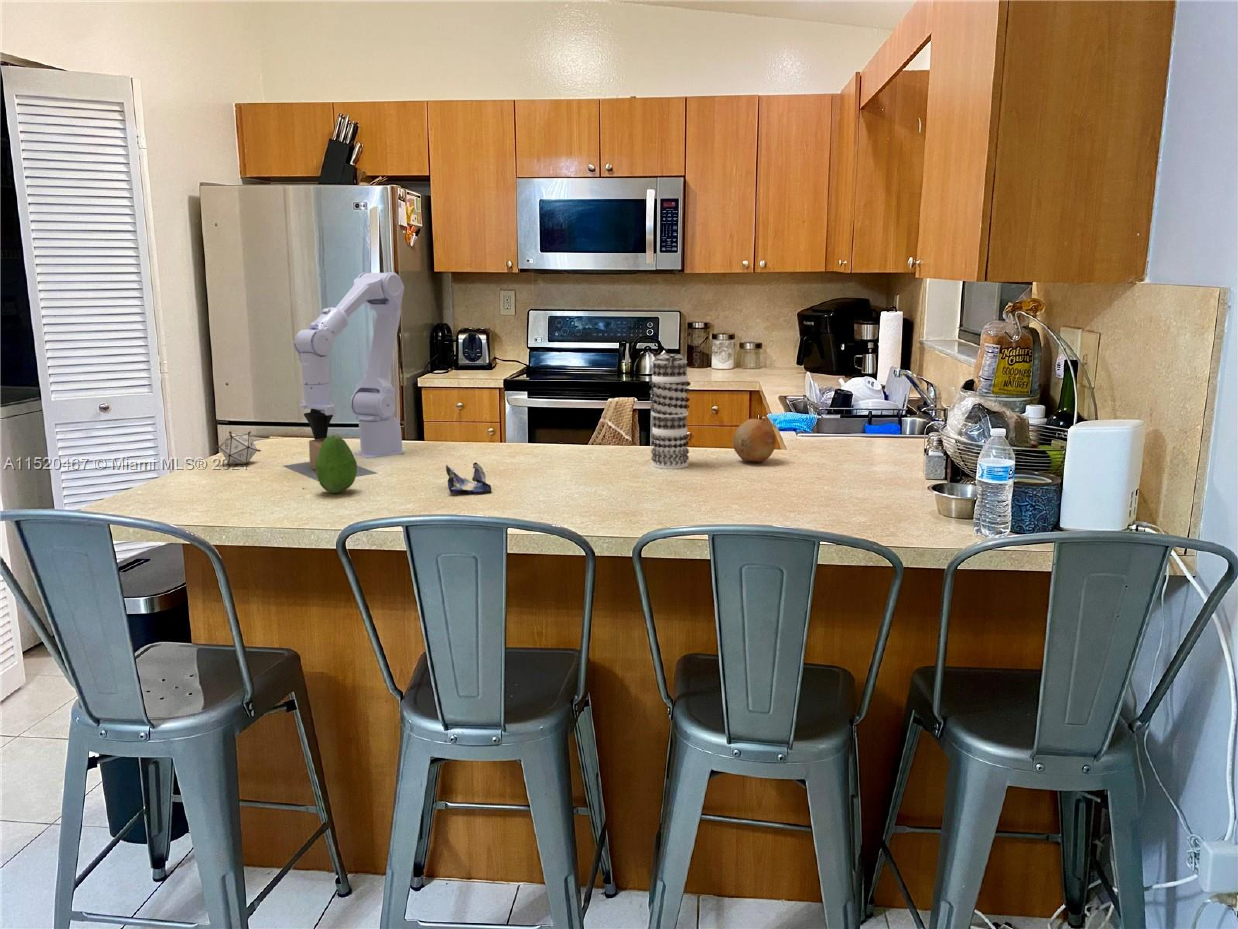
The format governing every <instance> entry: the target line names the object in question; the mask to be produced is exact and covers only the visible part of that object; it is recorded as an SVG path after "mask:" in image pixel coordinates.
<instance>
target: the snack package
mask: <svg viewBox="0 0 1238 929" xmlns="http://www.w3.org/2000/svg"><path fill="white" fill-rule="evenodd" d="M464 466H465V464H464ZM472 469H474V471H473V476H472V477H471V480H472V481H473V482H472V481H471V480H470V479H467V477H464V478H463V477H461V476H460V475H459V474H457V473H456V472H455V470H454V469H452V468H451V467H450V466H448V464H446V466H445V471H446V475H447V476H448V479H447V487H448V488H447V489H448V491H449V493H450V494H451V493H455V492H467V493H468V494H469V495H483V494H491V493H492V491H493V490H492V486H491V484H488V483H487V482H486V473H485V471H484V469H483V467H482V466H481V464H479V463H478V462H477V461H476V462H473V464H472ZM468 484H472V485H473V486H472V487H471V489H470V490H469V489H464V487H465V486H468Z"/></svg>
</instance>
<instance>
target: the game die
mask: <svg viewBox="0 0 1238 929" xmlns="http://www.w3.org/2000/svg"><path fill="white" fill-rule="evenodd" d="M228 433H229V435H228V436H227V437H226V438H225V439H224V441H223V442H222V443H221V444H220V445H216V446H215V448H216V449H219V450H220V452H221V453H222V455H223V457H224V459H225V461H226V466H230V465H245V466H246V467H247V466H248V465H249V464H248V463H249V462H250V460H251V459H252V458H253V456H254V455H255V454H257V452H262V450H261V449H257V446H256V444H255V443H254V441H253V439H252V438H251V436H250V435H251V433H252V431H251V430H249V431H248V432H247V433H232V431H231V430H229V431H228Z"/></svg>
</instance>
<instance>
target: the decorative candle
mask: <svg viewBox="0 0 1238 929" xmlns="http://www.w3.org/2000/svg"><path fill="white" fill-rule="evenodd" d="M688 362H689V361H687V360H686V359H685V357H684V356H683V355H682V354H679V353H662V354H661V353H660V354H657V355H656V356H655V357H654V359H653V361H651V363H652V375H651V380H649V381H648V383H649V386H650V387H651V389H650V390H649V393H650V395H651V396H650V398H649V401H650V402H652V404H651V406H650V410H651V412H650V414H651V416H653V419H652V422H653V425H652V430H651V431H652V434H651V436H650V438H651V439H652V441H651V446H653V447H652V449H651V451H650V453H651V461H652V462H651V467H653V468H656V469H660V470H661V469H664V470H675V469H676V470H677V469H678V470H679V469H684V468H686V467H689V465H690V464H689V462H688V461H689V459H690V457H689V455H688V454H689V452H690V449H689V448H687V446H688V445H689V444H690V443H689V441H688V439H689V437H690V436H689V434H688V426H687V423H688V422H687V421H688V419H687V416H688V415H689V411H688V409H690V404H688V402H689V401H690V402H691V399H690V398H689V397H688V396H687V394H689V393H690V392H691V389H689V388H688V387H689V386H691V384H692V383H691V382H690V381H689V379H688V376H689V375H688V373H687V371H688V368H687V367H688Z"/></svg>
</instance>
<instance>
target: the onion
mask: <svg viewBox="0 0 1238 929" xmlns="http://www.w3.org/2000/svg"><path fill="white" fill-rule="evenodd" d="M776 443H777V439H776V433H775V432H774V430H773V429H772V427H771V425H770V424H769V423H768V422H766V421H764V420H762V419H758V418H749V419H747V420H745V421H743V423H741V424H740V425H739V426H738V427H737V428H736V430H735V432H734V433H733V438H732V447H733V450H734V452H735V453H736V455H737V456H738V457H739V458H740V459H741V460H742V461H744V462H750V463H758V464H760V463H764V462H765V461H767V459H769V458H770V457H771V455H772V454H773V453H774V451H775V448H776Z"/></svg>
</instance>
